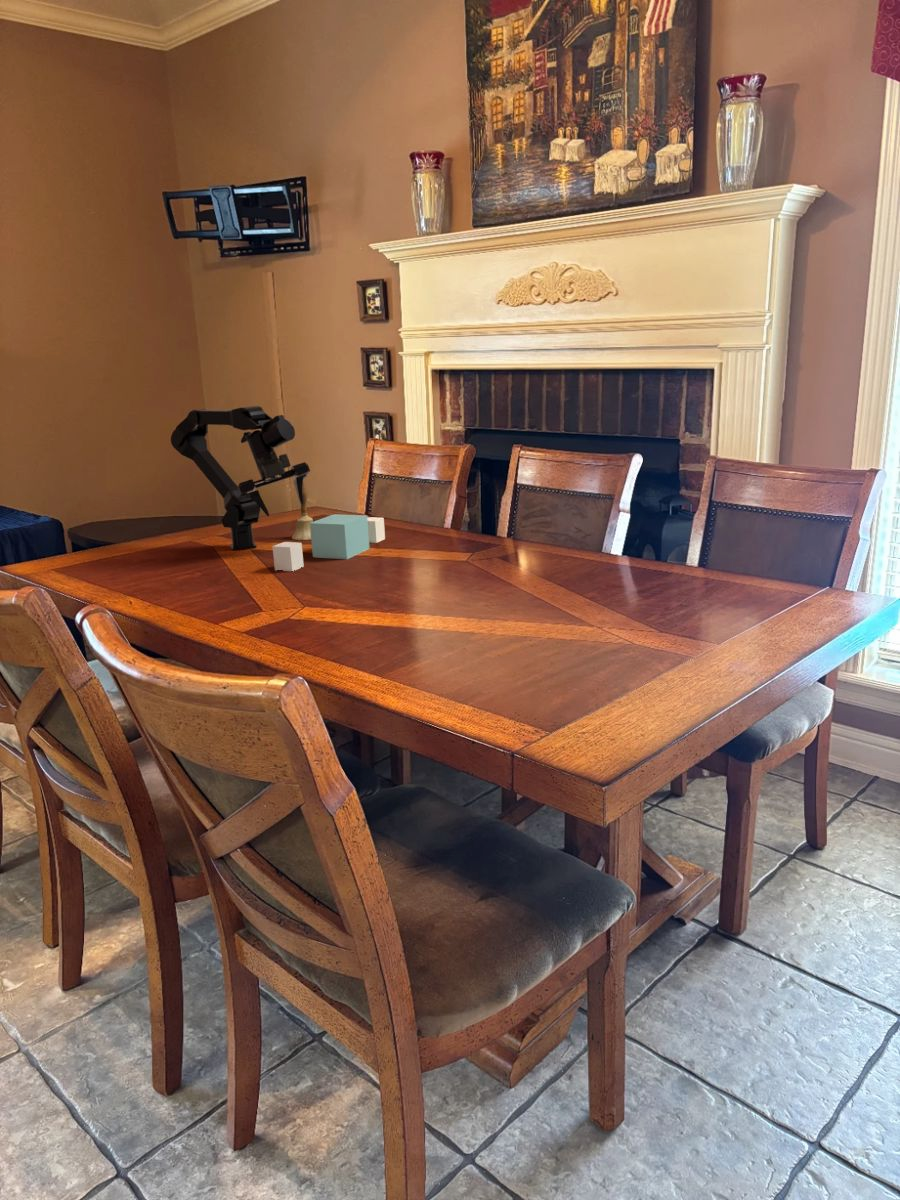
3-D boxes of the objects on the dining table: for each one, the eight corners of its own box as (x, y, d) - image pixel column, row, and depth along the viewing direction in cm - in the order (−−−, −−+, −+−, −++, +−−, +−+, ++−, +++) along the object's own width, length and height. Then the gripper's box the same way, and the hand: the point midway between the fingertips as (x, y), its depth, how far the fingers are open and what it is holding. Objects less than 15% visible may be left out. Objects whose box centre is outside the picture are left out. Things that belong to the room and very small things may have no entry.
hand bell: (290, 536, 244) (284, 480, 240) (318, 533, 247) (313, 478, 242) (293, 541, 237) (288, 484, 232) (323, 538, 239) (318, 482, 234)
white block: (275, 570, 206) (272, 546, 204) (286, 565, 210) (284, 541, 208) (292, 571, 204) (290, 547, 202) (303, 566, 208) (301, 542, 206)
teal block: (312, 557, 217) (309, 523, 215) (336, 547, 228) (333, 514, 225) (347, 559, 213) (344, 524, 211) (369, 549, 224) (367, 515, 221)
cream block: (360, 542, 232) (358, 520, 231) (369, 538, 237) (367, 517, 235) (376, 543, 230) (375, 521, 229) (385, 539, 235) (383, 517, 233)
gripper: (230, 458, 209) (253, 518, 211) (302, 436, 215) (323, 495, 216) (228, 466, 220) (250, 523, 221) (296, 445, 225) (317, 500, 227)
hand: (285, 510), depth 221 cm, fingers open, 9 cm apart
